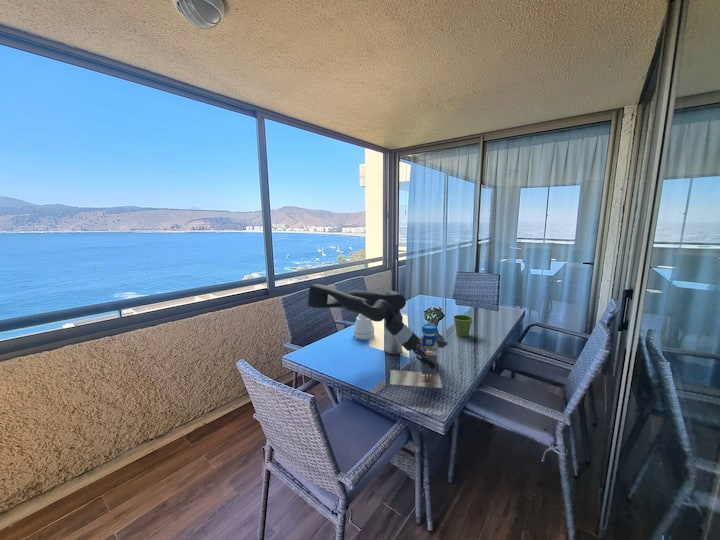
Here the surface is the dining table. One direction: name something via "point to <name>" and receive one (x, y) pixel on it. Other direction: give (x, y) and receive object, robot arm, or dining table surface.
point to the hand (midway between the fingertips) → (433, 364)
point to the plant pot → (462, 324)
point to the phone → (440, 343)
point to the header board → (415, 379)
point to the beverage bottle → (429, 337)
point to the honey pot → (363, 327)
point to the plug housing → (425, 367)
